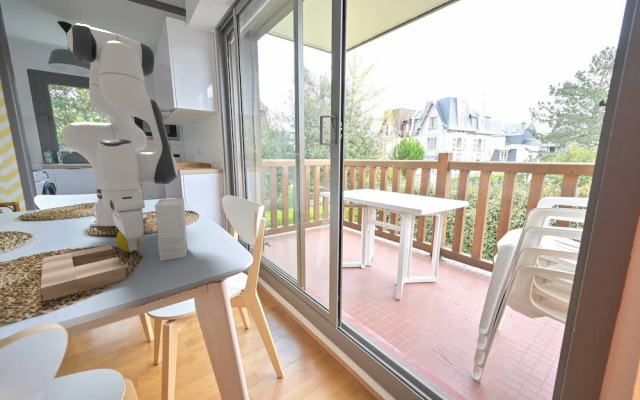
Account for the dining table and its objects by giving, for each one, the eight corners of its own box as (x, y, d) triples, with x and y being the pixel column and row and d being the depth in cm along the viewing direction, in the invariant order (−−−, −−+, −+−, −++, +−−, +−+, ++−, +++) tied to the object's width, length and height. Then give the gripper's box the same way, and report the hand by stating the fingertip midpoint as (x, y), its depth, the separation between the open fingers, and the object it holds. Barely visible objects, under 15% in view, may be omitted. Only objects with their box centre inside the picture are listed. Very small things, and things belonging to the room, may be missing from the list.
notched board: (45, 269, 64) (42, 257, 63) (111, 254, 73) (110, 244, 72) (43, 302, 50) (40, 288, 49) (126, 279, 59) (124, 267, 59)
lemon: (129, 257, 71) (126, 229, 70) (113, 255, 72) (109, 228, 71) (146, 250, 76) (143, 224, 75) (131, 248, 77) (127, 223, 76)
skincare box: (164, 250, 76) (158, 199, 73) (189, 247, 79) (184, 197, 76) (159, 261, 68) (153, 204, 66) (187, 258, 71) (182, 202, 68)
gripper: (103, 195, 76) (110, 240, 79) (115, 206, 62) (123, 260, 65) (129, 193, 81) (134, 235, 83) (146, 202, 67) (152, 253, 69)
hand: (129, 246), depth 74 cm, fingers closed on lemon, 5 cm apart
